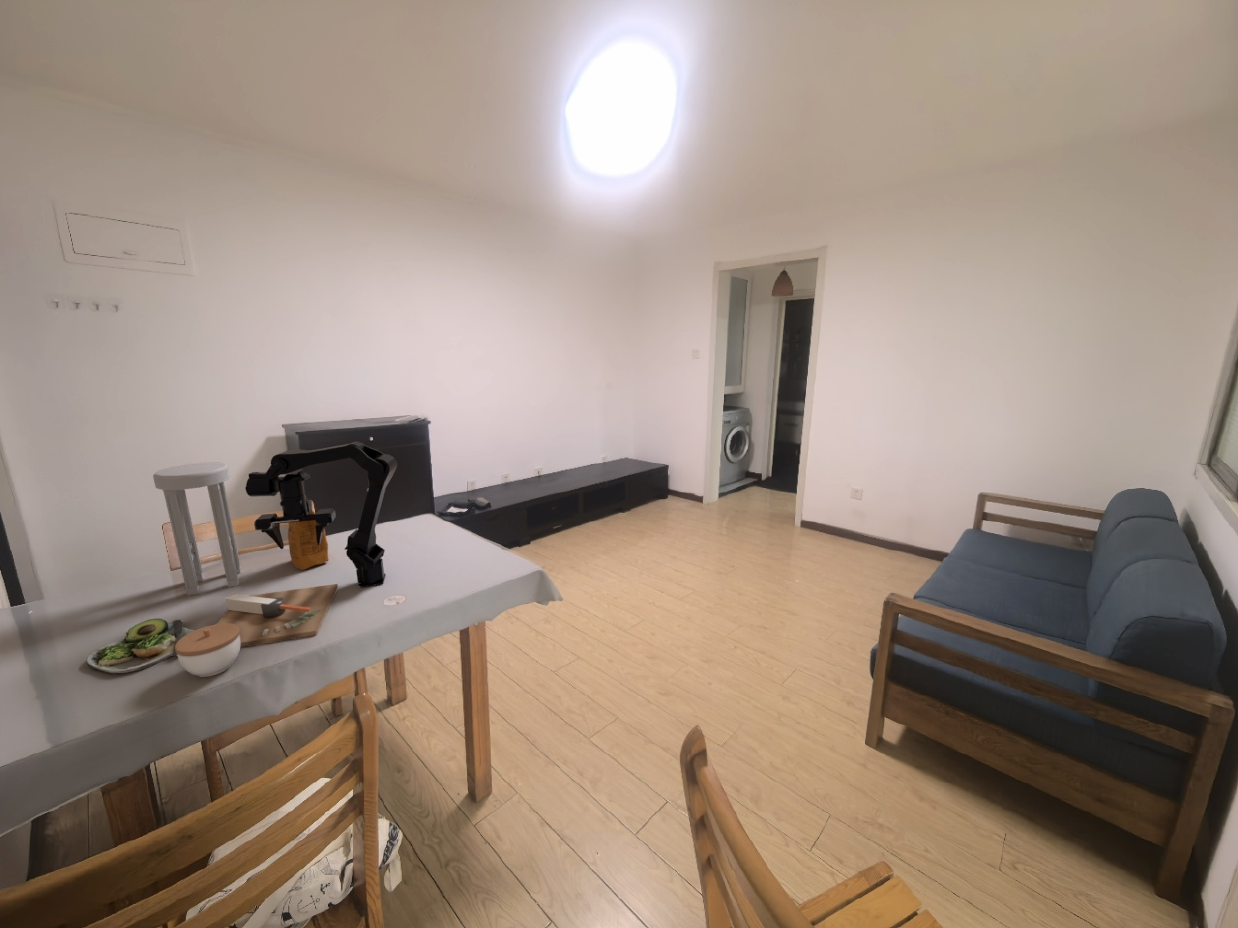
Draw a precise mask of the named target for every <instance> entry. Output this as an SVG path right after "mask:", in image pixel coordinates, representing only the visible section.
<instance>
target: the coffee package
mask: <svg viewBox="0 0 1238 928" xmlns="http://www.w3.org/2000/svg"><path fill="white" fill-rule="evenodd" d="M315 513H316V512H314V511H313V510H312V511H310V512H308V514H315ZM316 524H317V522H316V520H311V521H301V522H290V523H288V527H287V529H288V532H287V539H288V547H289V554H290V561H291V562H292V564H293V566H294V568H296V569H299V570H301V571H303V570H306V569H309V568H312V567H314V566H318V565H321V564H324V563H326V562H329V561H330V560H329V555H328V554H329V543H328V540H327V535H326V530H325V528H324V530H323V534H322V539H321V543H320V545H318V544H317V538H316V528H315V525H316Z"/></svg>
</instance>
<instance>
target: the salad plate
mask: <svg viewBox="0 0 1238 928" xmlns="http://www.w3.org/2000/svg"><path fill="white" fill-rule="evenodd" d="M183 624H184V623H183V621H182V619H175V620H173V621H172V622H171V623H168V622H167V621H166V620H165V619H163V618H150V619H147V620H144V621H141V622H139V623H137V624H135V625H133V626H132V627H130V628H129V629H128V630H127V632H125V634H126V635H125V637H124V638H122V639H120V640H116V641H115V642H112V643H109V644H107V645H103V646H102V647H100V648H97V649H96V650H94V651H93V652H91V653H90V654H89V656H88V657H86V660H85V661H86V664H87V666H88V667H89V668H91V669H93V670H99V671H101V672H103V673H111V674H127V673H132V672H136V671H141V670H143V669H147V668H149V667H152V666H154V665H157V664H158V663H160V662H162V661H165V660H166V659H168V658H171V657H173V656H178V655H177V653H176V651H175V645H176V643H177V642H178V641H179V640H180V639H181V638H183V637H184V636H186V635H187V634H189V633H191V632H193V631H194V630H193V629H190V628H187V627H183ZM137 659H142V660H146V661H144V662H142V663H140V664H137V665H132V666H127V667H114V666H116V665H118V664H121V663H126V662H128V661H133V660H137Z"/></svg>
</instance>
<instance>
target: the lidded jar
mask: <svg viewBox="0 0 1238 928" xmlns="http://www.w3.org/2000/svg"><path fill="white" fill-rule="evenodd" d="M241 648H242V647H241V638H240V629H239V627H238V626H237V625H235V624H231V623H222V624H217V623H216V624H212V625H207V626H204V627H201V628H199V629H195V630H193V632H191V633H189V634H187V635H186V636H184V637H183V638H181V639H180V640H179V641H178V642H177V643H176V645H175V651H176V653H177V655H176V656H177V659H178V661H179V663H180V665H181V666H182V668H183V669H184V670H185V671H186V672H188V673H189V674H191V675H195V676H197V677H199V678H208V677H212V676H216V675H219V674H221V673H223V672H225V671H227V670H228V669H229V668H230V667H231V666H232V665H233V663H234V662H235V661H236V659H237V658H238V656H239V654H240V651H241Z"/></svg>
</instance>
